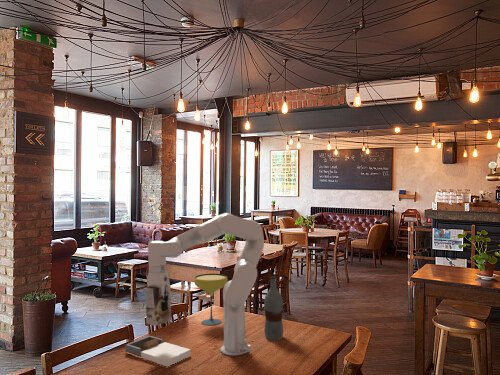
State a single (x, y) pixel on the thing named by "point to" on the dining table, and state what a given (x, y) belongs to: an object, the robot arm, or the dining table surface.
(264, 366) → the dining table surface
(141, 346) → the tile
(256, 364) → the dining table surface
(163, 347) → the white flat block
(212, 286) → the cocktail glass
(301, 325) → the dining table surface
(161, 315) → the coffee box
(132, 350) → the tray
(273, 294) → the bottle
